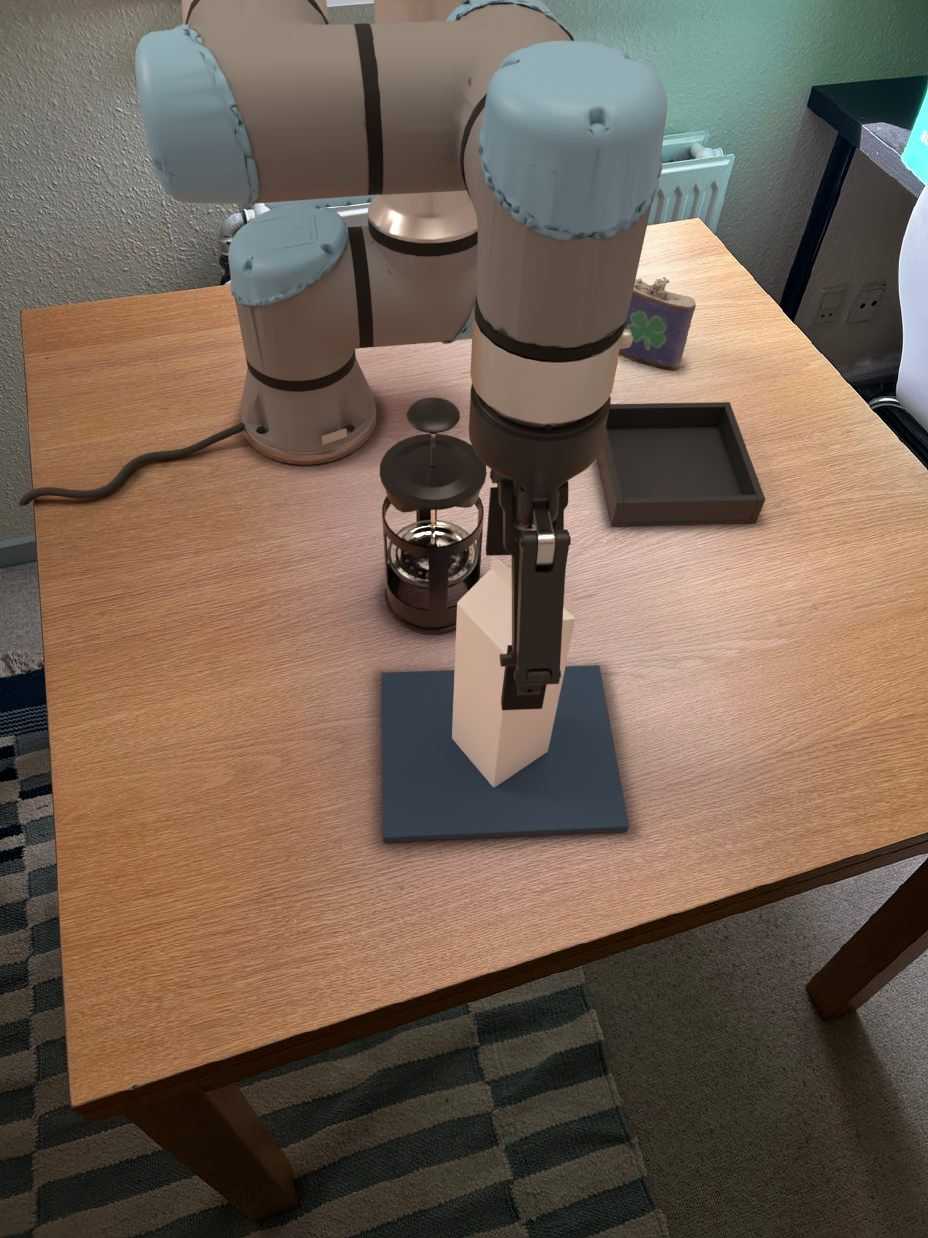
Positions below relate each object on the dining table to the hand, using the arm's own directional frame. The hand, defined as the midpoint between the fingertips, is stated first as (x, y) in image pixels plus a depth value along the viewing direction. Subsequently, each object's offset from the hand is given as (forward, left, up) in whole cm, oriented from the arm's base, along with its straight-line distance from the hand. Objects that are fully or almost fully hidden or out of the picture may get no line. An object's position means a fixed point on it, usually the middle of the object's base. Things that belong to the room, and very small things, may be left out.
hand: (512, 623), depth 66 cm
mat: (0, 0, -18) cm, 18 cm away
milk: (0, 0, -17) cm, 17 cm away
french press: (-5, +18, -18) cm, 26 cm away
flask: (+23, +55, -18) cm, 62 cm away
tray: (+22, +34, -18) cm, 44 cm away
